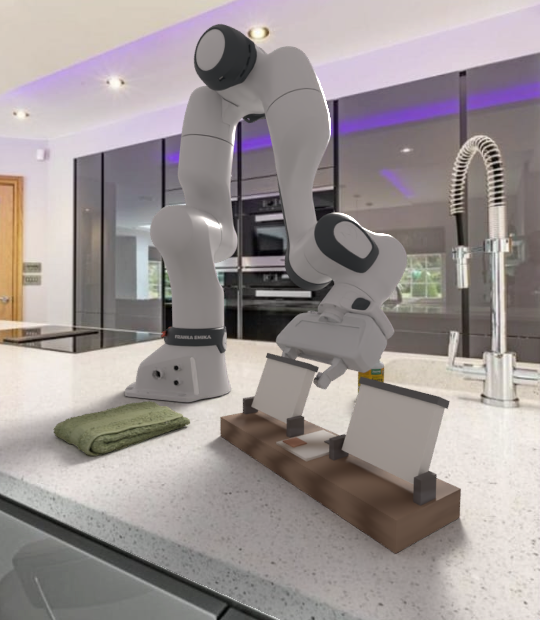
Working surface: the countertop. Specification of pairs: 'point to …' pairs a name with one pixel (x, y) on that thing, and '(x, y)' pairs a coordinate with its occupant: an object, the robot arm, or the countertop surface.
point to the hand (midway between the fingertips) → (298, 379)
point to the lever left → (284, 387)
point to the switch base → (344, 478)
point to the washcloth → (119, 427)
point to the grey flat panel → (394, 428)
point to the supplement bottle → (373, 373)
